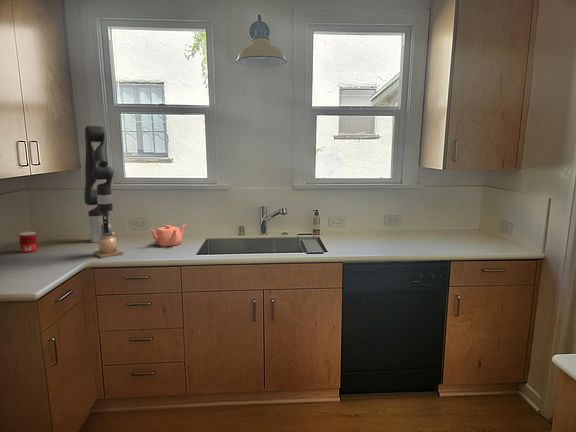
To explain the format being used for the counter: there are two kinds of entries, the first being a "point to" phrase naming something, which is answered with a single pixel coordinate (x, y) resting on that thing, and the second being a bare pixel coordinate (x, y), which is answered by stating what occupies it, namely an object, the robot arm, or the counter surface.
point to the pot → (168, 235)
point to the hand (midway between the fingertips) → (106, 231)
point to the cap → (109, 230)
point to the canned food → (28, 242)
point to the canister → (107, 247)
